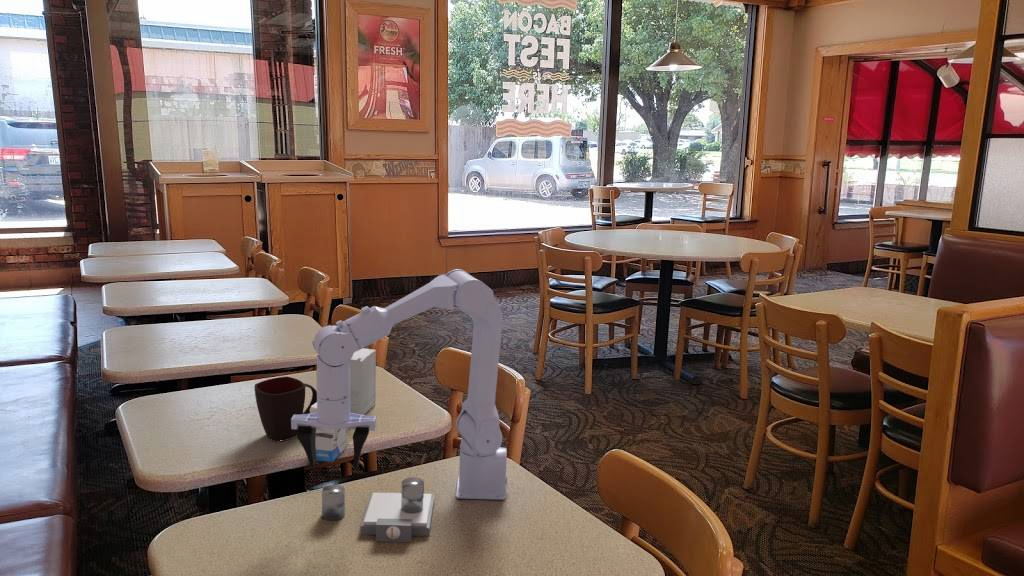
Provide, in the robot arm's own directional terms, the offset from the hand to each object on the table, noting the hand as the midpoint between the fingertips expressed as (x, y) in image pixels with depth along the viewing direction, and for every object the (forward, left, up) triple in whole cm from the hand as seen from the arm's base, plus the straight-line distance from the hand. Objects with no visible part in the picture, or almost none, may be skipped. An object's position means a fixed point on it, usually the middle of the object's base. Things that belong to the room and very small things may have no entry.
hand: (334, 465), depth 132 cm
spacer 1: (0, 0, -10) cm, 10 cm away
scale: (-12, +2, -10) cm, 15 cm away
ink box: (+6, -25, -10) cm, 27 cm away
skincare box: (+4, -48, -10) cm, 49 cm away
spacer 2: (-14, 0, -8) cm, 16 cm away
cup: (+17, -34, -10) cm, 39 cm away
